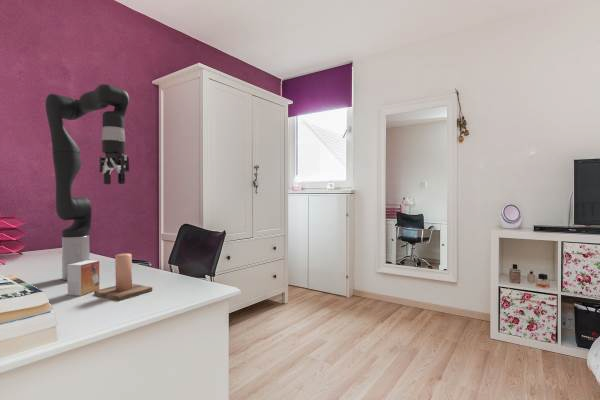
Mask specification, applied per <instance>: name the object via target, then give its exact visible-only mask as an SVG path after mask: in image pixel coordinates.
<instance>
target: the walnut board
mask: <svg viewBox="0 0 600 400" xmlns="http://www.w3.org/2000/svg"><path fill="white" fill-rule="evenodd" d="M152 291H153V287H152V286H147V285H141V284H136V283H132V289H130V290H127V291H116V285H113V286H109V287H105V288H102V289H100V288H99V290H97V291H93V295H95V296H99V297H103V298H107V299H112V300H115V301H119V302H120V301H123V300H127V299H130V298H132V297H136V296H140V295H143V294H146V293H149V292H152Z"/></svg>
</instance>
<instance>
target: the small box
mask: <svg viewBox="0 0 600 400" xmlns="http://www.w3.org/2000/svg"><path fill="white" fill-rule="evenodd" d="M67 271H68V280H67V295H68V296H77V297H78V296H80V297H81V296H84V295H86V294H89V293H94V291H97V290H100V260H86V261H82V262H78V263H74V264H68V265H67Z"/></svg>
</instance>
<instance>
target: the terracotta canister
mask: <svg viewBox="0 0 600 400" xmlns="http://www.w3.org/2000/svg"><path fill="white" fill-rule="evenodd" d="M132 256H133V255H132V253H127V252H126V253H119V254H115V261H114V262H115V286H116V291H127V290H130V289H132V284H133V261H132V260H133V257H132Z"/></svg>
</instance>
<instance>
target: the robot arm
mask: <svg viewBox="0 0 600 400" xmlns="http://www.w3.org/2000/svg"><path fill="white" fill-rule="evenodd" d="M129 103H130V96H129V94H128V92H127V91H126V90H125V89H123V88H120V87H117V86H114V85H110V84H106V83H105V84H99V85H98V86H97V87H96V88H94V89H93V90H91V91H88V92H87V91H86V92H85V93H83V94H82V95H81V96H79V99H76V98H72V97H69V96H64V95H60V94H55V93H50V94H48V95H47V96H46V99H45V112H46V117H47V122H48V126H49V132H50V138H51V139H50V140H51V147H52V148H51V149H52V159H53V167H54V178H55V209H56V210H55V211H56V215H57V217H58V218H59V219H60V220H63V221H72V220H73V223H72V224H71V225H69V226H68V227H66V228H64V229H63V230H62V231H61V245H62V246H61V253H62V254H61V255H62V256H61V268H62V271H61V272H62V274H61V275H62V276H61V278H62V280H63V281H68V271H67V265H68V264H74V263H78V262H82V261H86V260H90V259H91V258H90V231H91V228H92V215H93V214H92V213H93V209H92V203H91V201H90V199H88V198H87V197H83V196H76V197H75V196H73V193H72V192H73V191H72V187H73V183H74V180H75V179H76V177H77V175H78V174H79V172H80V170H81V166H82V158H81V149H80V148H79V146H78V144H77V142H76V141H75V140H74V139H73V138H72V137H71V135H70V134H69V133H68V131H67V130H66V127H65V125H64V124H65V123H64V121H63V120H68V121H75V120H77V119H80V118H82V117H83V116H85V115H87V114H89V113H92V112H94V111H99V110H104V109H107V108H108V107H110V106H111V107H114V109H113V110H108V111H107V110H106V111H104V112H103V113H102V116H101V117H102V118H101V119H102V120H101V121H102V131H101V152H102V153H103V154H105V156H99V173H100V174H102V175H103V184H104V185H111V183H112V181H111V179H112V177H111V173H112V171H114V169H115V170H116V172H117V183H118V185H124V184H125V182H126V173H127V172H130V160H129V159H130V158H129V155H126V132H125V118H126V114H127V110H128V107H129Z"/></svg>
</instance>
